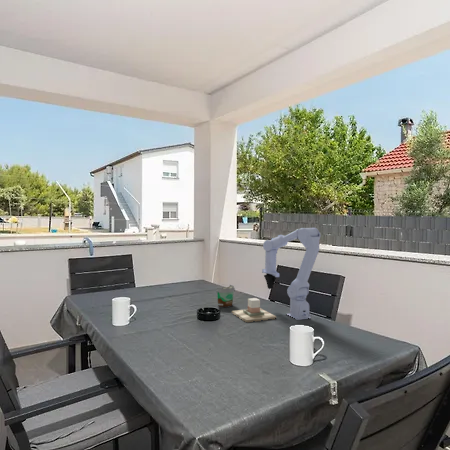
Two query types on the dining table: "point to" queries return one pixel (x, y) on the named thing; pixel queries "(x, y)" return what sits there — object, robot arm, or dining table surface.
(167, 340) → the dining table surface
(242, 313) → the board
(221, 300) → the food container
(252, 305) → the white brown rectangular block
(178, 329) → the dining table surface
